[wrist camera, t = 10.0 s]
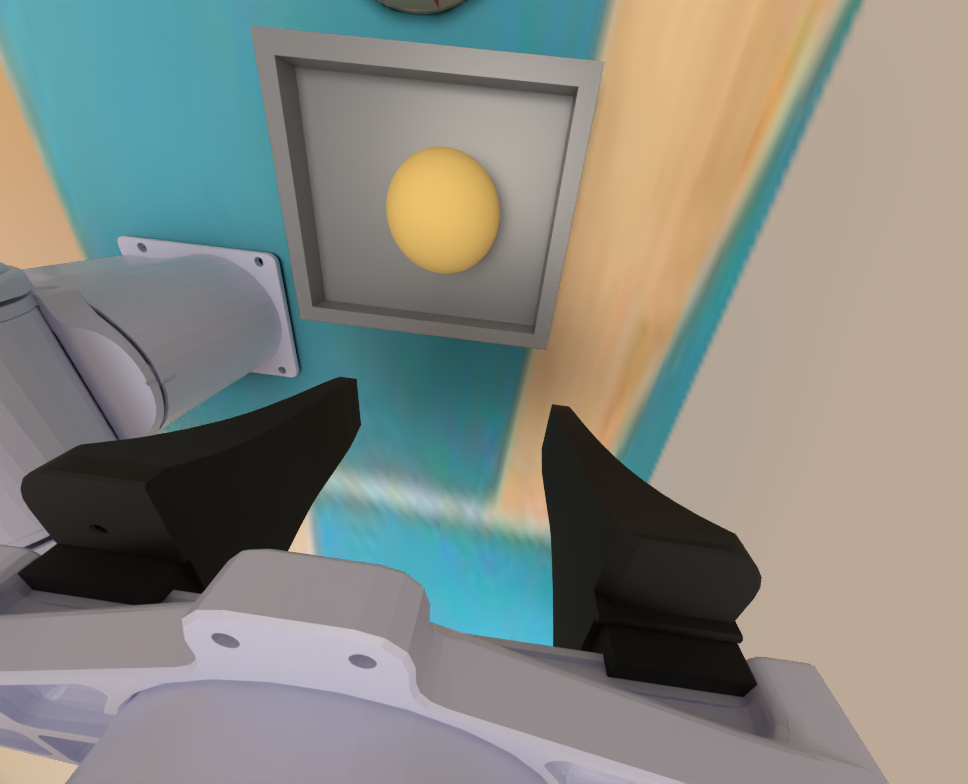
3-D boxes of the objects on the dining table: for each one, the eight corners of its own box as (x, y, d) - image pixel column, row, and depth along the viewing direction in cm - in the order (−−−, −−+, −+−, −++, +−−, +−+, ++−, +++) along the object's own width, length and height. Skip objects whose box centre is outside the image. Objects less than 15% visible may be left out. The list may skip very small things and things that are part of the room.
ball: (403, 261, 19) (377, 280, 14) (397, 150, 16) (364, 132, 12) (494, 267, 19) (497, 287, 15) (501, 157, 16) (507, 142, 12)
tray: (320, 307, 22) (300, 318, 20) (284, 47, 16) (250, 25, 14) (543, 335, 21) (546, 349, 19) (593, 79, 15) (604, 61, 13)
